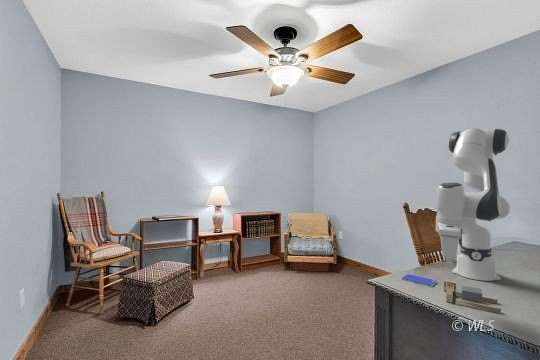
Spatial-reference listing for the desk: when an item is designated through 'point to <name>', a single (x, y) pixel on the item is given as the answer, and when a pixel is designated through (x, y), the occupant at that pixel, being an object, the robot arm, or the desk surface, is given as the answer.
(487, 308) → the cradle
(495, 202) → the robot arm
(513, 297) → the desk surface
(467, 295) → the block
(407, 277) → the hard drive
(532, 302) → the desk surface
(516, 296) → the desk surface
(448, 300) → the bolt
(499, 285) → the desk surface
